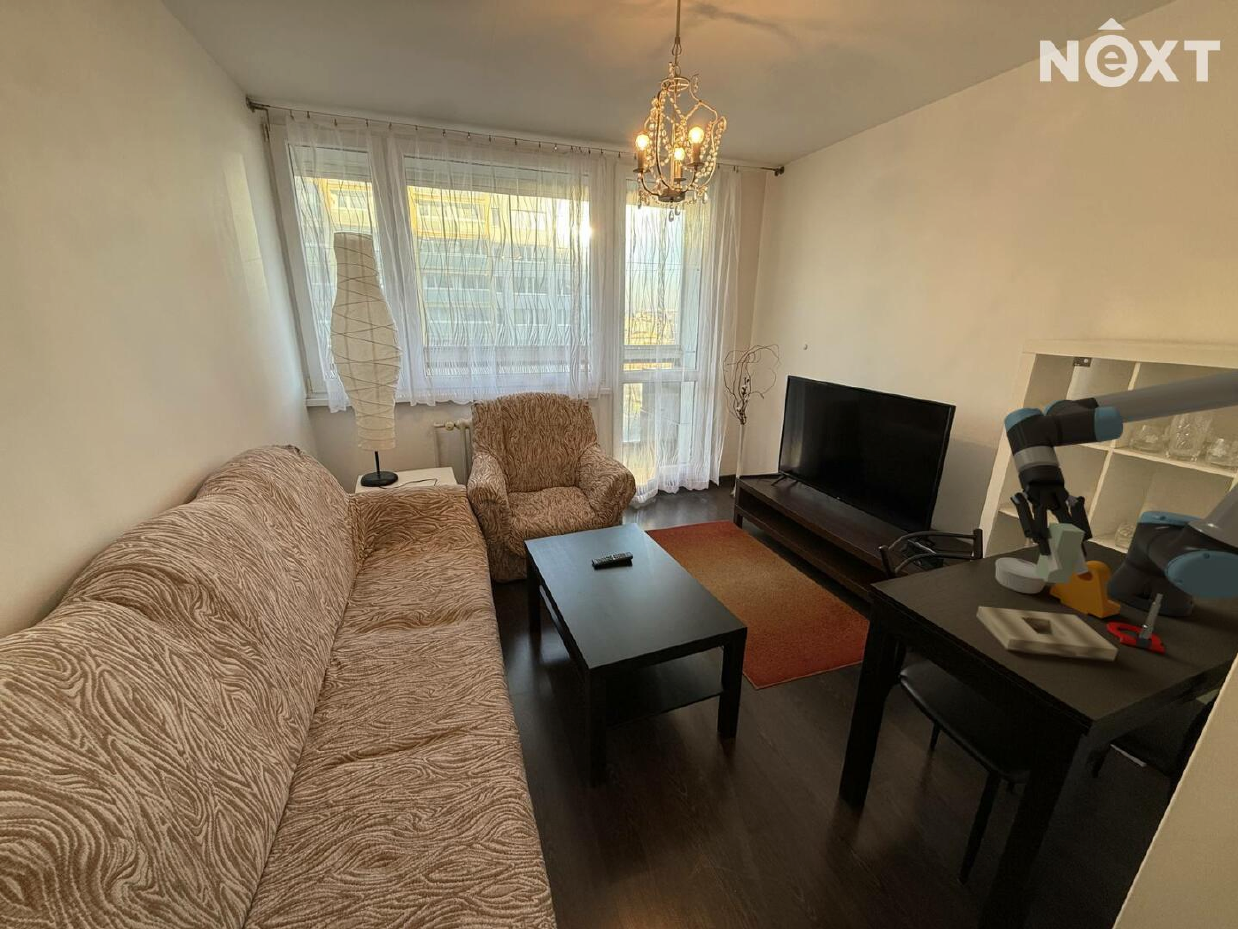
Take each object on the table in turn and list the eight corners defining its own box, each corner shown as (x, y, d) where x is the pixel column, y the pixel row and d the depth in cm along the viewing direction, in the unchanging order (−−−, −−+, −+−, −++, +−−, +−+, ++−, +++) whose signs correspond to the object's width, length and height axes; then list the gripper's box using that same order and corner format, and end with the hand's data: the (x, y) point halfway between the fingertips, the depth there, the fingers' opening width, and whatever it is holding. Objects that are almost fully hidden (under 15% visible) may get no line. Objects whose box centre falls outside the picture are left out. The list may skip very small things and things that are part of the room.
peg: (1055, 574, 105) (1071, 524, 101) (1068, 583, 101) (1085, 532, 97) (1034, 572, 106) (1049, 522, 102) (1046, 582, 102) (1062, 530, 98)
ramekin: (1051, 588, 126) (1057, 570, 125) (1036, 601, 120) (1042, 583, 119) (1001, 570, 135) (1005, 553, 134) (984, 581, 129) (989, 564, 128)
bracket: (1119, 615, 115) (1136, 571, 111) (1099, 621, 113) (1116, 576, 109) (1067, 592, 125) (1081, 550, 121) (1048, 596, 122) (1061, 554, 119)
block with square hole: (1071, 626, 111) (1075, 615, 110) (1113, 661, 99) (1118, 649, 98) (975, 617, 114) (978, 606, 113) (1006, 650, 102) (1009, 638, 101)
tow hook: (1100, 622, 113) (1115, 643, 105) (1117, 572, 110) (1134, 590, 102) (1149, 633, 109) (1169, 656, 101) (1168, 583, 106) (1190, 602, 98)
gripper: (1069, 480, 111) (1102, 580, 100) (987, 475, 114) (1011, 572, 103) (1093, 465, 104) (1131, 570, 94) (1006, 460, 107) (1033, 562, 97)
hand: (1068, 571), depth 99 cm, fingers closed on peg, 4 cm apart
